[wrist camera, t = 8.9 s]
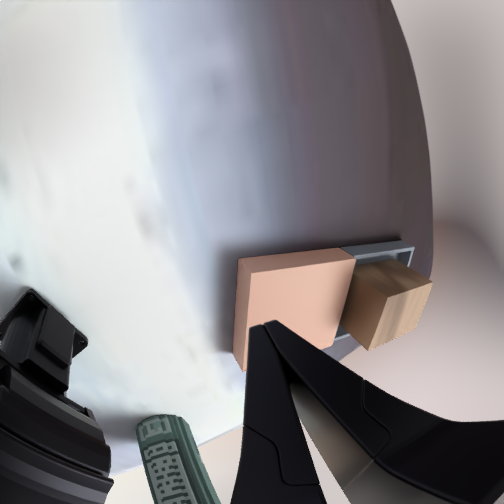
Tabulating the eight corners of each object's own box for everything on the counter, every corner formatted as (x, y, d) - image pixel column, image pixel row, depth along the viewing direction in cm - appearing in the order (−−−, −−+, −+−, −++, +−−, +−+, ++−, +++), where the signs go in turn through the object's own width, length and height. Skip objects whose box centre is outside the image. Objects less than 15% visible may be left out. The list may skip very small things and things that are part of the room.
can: (152, 445, 28) (189, 549, 15) (127, 425, 25) (160, 547, 12) (195, 430, 29) (242, 534, 17) (173, 408, 26) (222, 533, 14)
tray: (320, 331, 30) (330, 342, 28) (340, 247, 26) (354, 255, 25) (380, 312, 34) (390, 320, 32) (401, 240, 30) (414, 246, 29)
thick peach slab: (232, 353, 26) (242, 371, 24) (238, 258, 22) (251, 273, 20) (318, 332, 30) (331, 345, 28) (338, 247, 26) (356, 258, 24)
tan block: (367, 351, 24) (414, 328, 28) (387, 297, 22) (433, 282, 25) (331, 317, 29) (380, 302, 33) (344, 267, 27) (394, 258, 30)
